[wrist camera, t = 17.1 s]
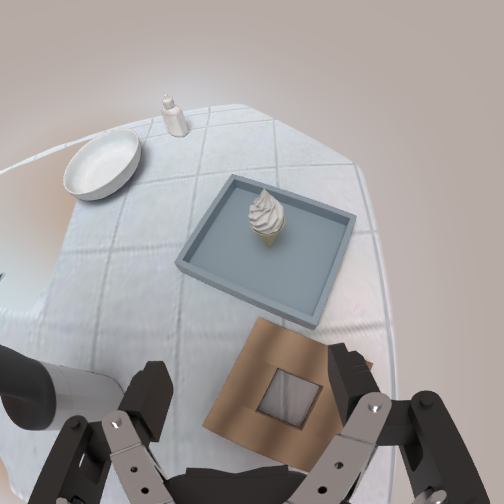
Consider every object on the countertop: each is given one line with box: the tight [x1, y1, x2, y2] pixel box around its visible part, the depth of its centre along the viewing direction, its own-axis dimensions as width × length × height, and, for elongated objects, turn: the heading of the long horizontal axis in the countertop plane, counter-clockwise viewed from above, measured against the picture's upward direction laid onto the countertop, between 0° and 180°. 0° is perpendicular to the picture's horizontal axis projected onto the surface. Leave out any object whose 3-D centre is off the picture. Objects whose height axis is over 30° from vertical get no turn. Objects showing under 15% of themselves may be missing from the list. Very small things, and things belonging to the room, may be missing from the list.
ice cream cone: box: [248, 188, 285, 248], centre depth 41 cm, size 5×5×15 cm
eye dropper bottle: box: [161, 94, 189, 137], centre depth 60 cm, size 4×6×12 cm
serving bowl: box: [63, 128, 141, 200], centre depth 58 cm, size 21×21×7 cm
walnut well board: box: [202, 317, 373, 473], centre depth 36 cm, size 18×18×3 cm
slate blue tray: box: [174, 174, 357, 330], centre depth 47 cm, size 24×20×4 cm
